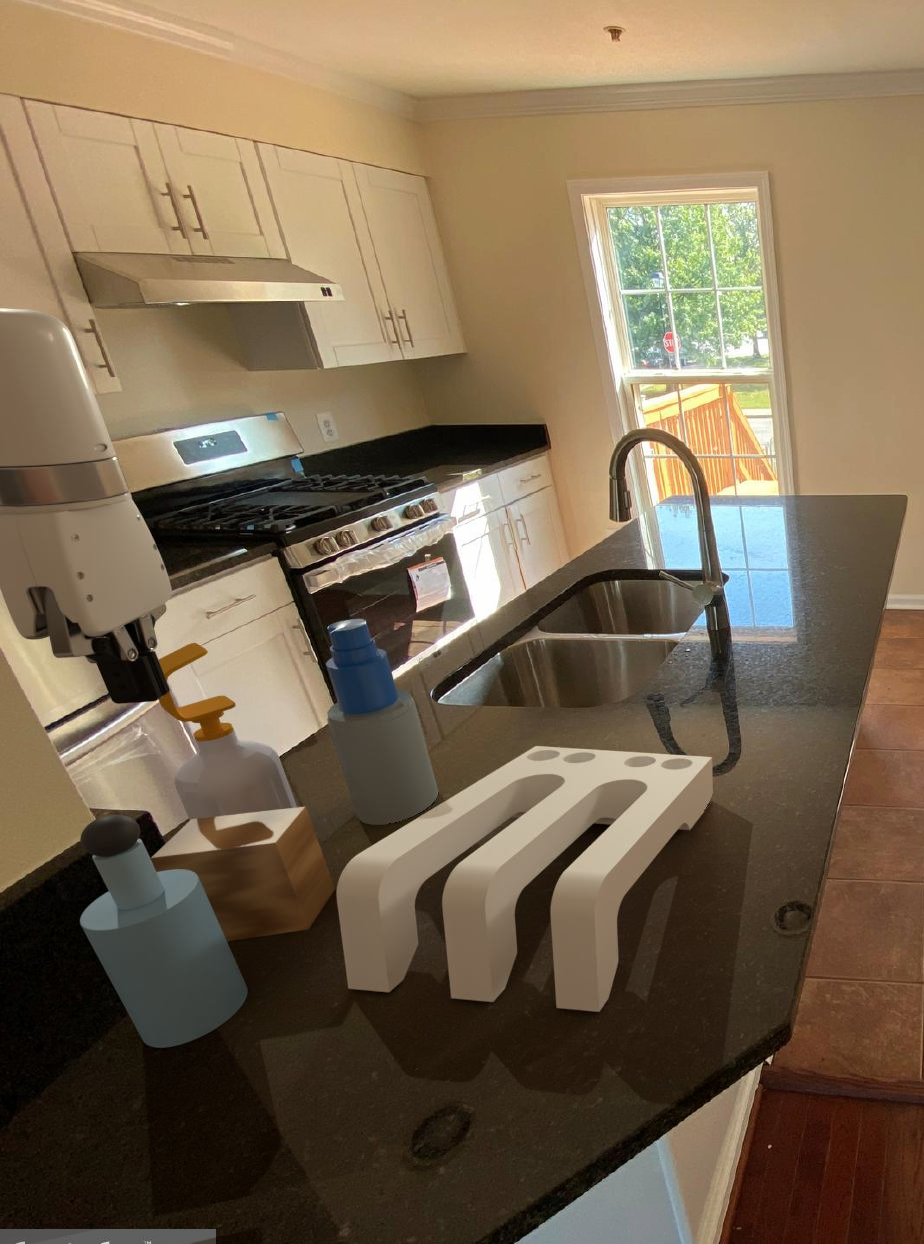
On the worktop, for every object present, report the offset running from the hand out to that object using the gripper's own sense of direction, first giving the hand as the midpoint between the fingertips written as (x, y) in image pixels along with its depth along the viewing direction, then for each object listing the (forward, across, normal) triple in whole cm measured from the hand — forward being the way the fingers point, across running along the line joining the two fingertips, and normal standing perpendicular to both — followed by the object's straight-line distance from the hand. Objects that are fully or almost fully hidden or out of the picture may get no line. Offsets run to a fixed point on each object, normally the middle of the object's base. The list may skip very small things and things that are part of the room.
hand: (142, 697), depth 61 cm
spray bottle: (+27, -21, +7) cm, 35 cm away
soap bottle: (+27, -17, -7) cm, 33 cm away
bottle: (+27, +6, +1) cm, 27 cm away
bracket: (+27, -2, +30) cm, 40 cm away
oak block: (+27, -2, +1) cm, 27 cm away
